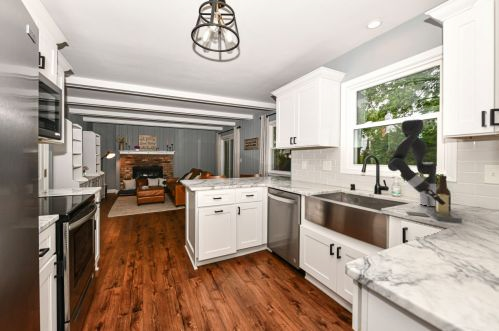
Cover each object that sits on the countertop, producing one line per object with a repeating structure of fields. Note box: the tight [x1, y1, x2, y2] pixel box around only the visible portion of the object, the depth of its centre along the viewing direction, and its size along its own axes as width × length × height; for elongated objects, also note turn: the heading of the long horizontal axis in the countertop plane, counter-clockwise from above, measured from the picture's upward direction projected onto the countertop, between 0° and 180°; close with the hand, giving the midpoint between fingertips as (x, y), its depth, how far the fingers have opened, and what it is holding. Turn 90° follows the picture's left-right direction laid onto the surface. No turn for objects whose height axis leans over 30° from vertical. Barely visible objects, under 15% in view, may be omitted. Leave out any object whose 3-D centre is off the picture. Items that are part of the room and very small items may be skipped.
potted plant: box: [434, 175, 452, 212], centre depth 144 cm, size 8×8×24 cm
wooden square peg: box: [436, 194, 449, 214], centre depth 129 cm, size 5×5×14 cm
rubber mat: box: [406, 211, 430, 218], centre depth 135 cm, size 10×10×1 cm
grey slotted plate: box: [425, 207, 463, 224], centre depth 129 cm, size 26×10×2 cm, turn 151°
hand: (441, 203), depth 129 cm, fingers open, 8 cm apart
